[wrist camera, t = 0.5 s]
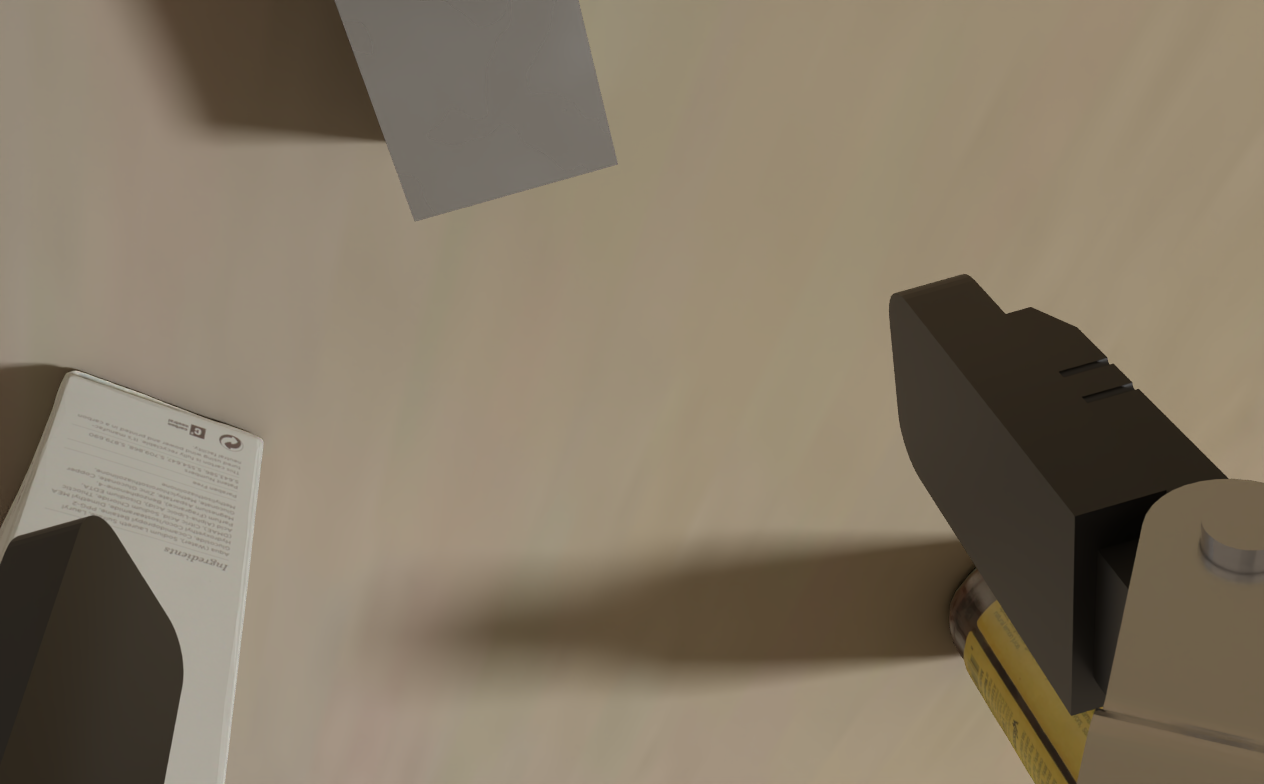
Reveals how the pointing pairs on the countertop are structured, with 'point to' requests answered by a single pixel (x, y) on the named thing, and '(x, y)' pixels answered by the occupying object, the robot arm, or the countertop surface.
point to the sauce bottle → (1016, 686)
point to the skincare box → (160, 532)
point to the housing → (480, 95)
